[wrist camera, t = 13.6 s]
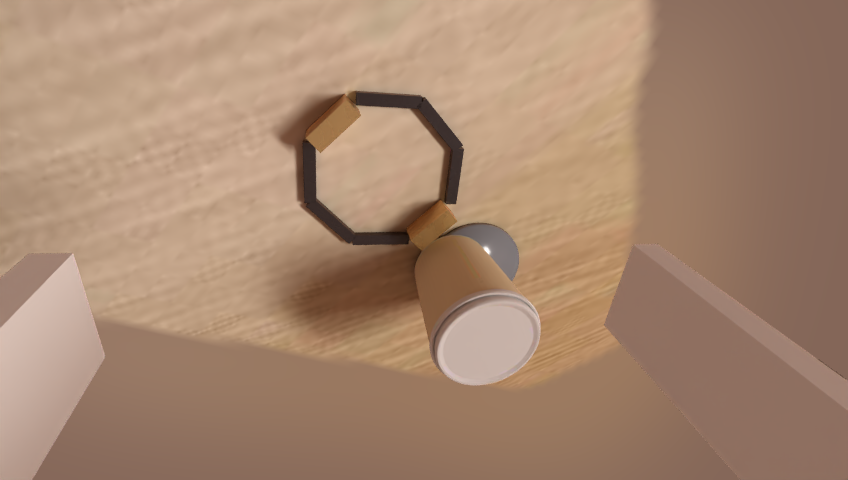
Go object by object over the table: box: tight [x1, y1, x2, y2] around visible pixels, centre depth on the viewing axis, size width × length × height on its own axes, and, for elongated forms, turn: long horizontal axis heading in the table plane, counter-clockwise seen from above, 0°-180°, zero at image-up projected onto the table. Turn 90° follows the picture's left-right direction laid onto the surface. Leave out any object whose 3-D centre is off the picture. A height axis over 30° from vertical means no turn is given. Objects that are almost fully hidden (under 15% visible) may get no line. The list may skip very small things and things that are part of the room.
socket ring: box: [303, 91, 464, 251], centre depth 38 cm, size 14×14×2 cm
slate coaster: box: [445, 223, 519, 281], centre depth 46 cm, size 10×10×1 cm
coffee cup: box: [415, 235, 540, 385], centre depth 40 cm, size 9×9×12 cm
